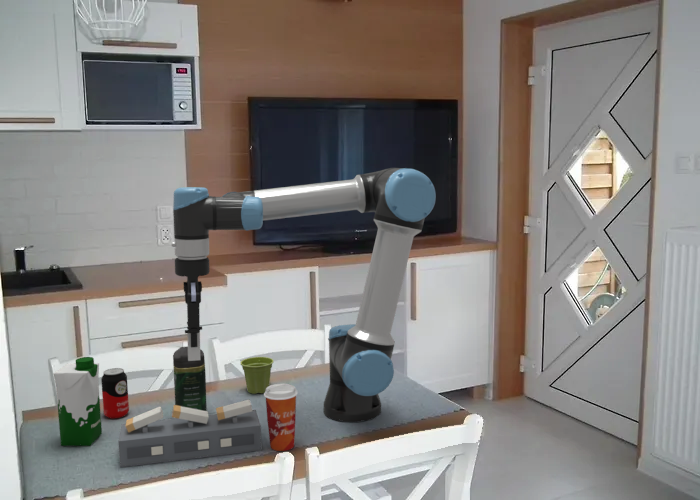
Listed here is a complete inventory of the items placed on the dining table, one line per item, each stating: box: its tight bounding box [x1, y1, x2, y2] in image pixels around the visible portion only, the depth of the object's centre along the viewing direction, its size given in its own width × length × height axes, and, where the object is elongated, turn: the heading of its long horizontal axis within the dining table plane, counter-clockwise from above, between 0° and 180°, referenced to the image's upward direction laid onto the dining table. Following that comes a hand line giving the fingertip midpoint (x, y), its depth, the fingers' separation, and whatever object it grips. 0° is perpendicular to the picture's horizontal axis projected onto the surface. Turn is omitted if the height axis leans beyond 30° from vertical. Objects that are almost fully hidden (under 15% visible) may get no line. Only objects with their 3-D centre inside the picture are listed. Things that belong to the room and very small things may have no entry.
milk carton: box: [52, 356, 103, 447], centre depth 164 cm, size 9×9×20 cm
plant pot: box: [239, 356, 275, 395], centre depth 197 cm, size 9×9×9 cm
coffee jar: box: [172, 346, 208, 411], centre depth 177 cm, size 10×8×19 cm
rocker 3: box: [215, 399, 253, 420], centre depth 161 cm, size 8×4×2 cm, turn 104°
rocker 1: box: [125, 406, 164, 432], centre depth 156 cm, size 8×4×2 cm, turn 104°
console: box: [117, 409, 263, 468], centre depth 159 cm, size 31×10×7 cm, turn 104°
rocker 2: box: [171, 404, 209, 424], centre depth 158 cm, size 8×4×2 cm, turn 105°
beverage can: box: [100, 367, 130, 420], centre depth 180 cm, size 6×6×12 cm
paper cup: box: [263, 383, 299, 452], centre depth 160 cm, size 8×8×14 cm
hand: (194, 359), depth 157 cm, fingers closed
